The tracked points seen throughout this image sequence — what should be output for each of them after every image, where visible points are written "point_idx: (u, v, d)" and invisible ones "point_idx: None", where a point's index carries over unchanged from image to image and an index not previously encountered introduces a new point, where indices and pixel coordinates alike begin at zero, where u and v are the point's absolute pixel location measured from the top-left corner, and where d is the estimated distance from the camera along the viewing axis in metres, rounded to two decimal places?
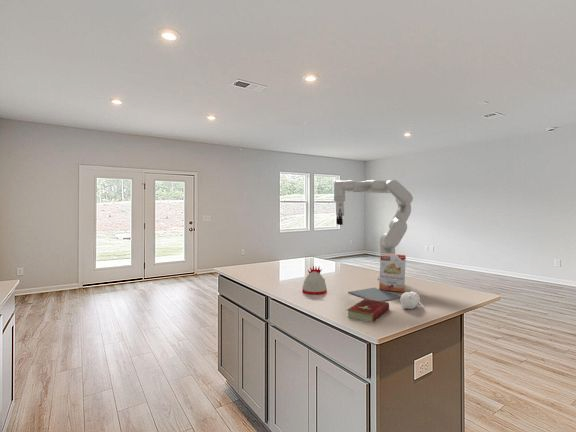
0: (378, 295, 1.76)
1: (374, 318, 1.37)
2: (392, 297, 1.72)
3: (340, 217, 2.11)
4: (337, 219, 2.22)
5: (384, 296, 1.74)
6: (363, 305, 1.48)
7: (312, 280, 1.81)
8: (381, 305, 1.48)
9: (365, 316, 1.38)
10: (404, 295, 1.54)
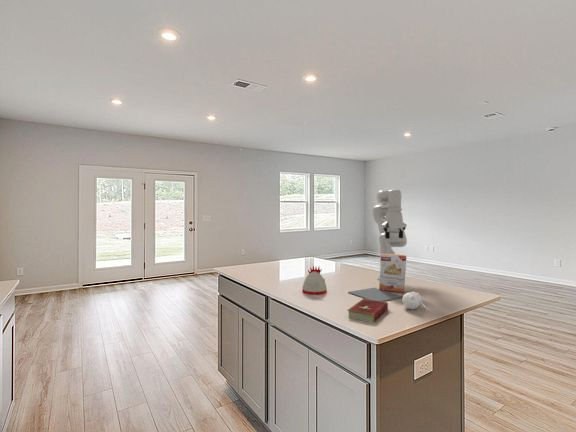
0: (378, 295, 1.76)
1: (375, 318, 1.37)
2: (392, 297, 1.72)
3: None
4: None
5: (384, 296, 1.74)
6: (363, 305, 1.48)
7: (312, 280, 1.81)
8: (380, 305, 1.49)
9: (366, 316, 1.38)
10: (406, 295, 1.53)
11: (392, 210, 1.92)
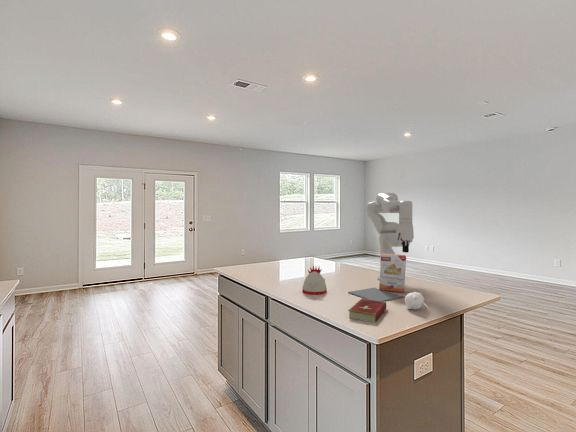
0: (378, 295, 1.76)
1: (376, 318, 1.37)
2: (392, 297, 1.72)
3: None
4: None
5: (384, 296, 1.74)
6: (362, 305, 1.48)
7: (312, 280, 1.81)
8: (380, 305, 1.49)
9: (367, 316, 1.38)
10: (409, 296, 1.53)
11: (405, 222, 1.88)
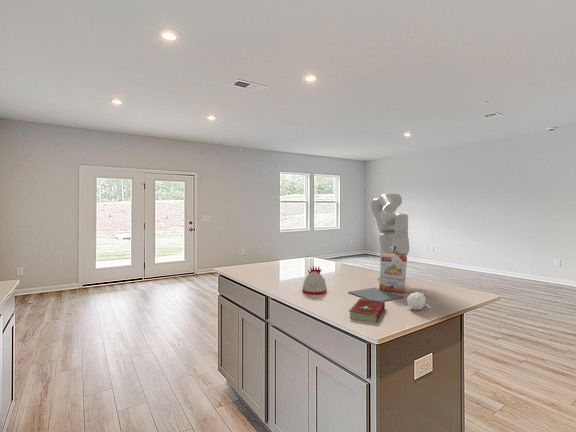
0: (378, 295, 1.76)
1: (377, 318, 1.38)
2: (392, 297, 1.72)
3: None
4: None
5: (384, 296, 1.74)
6: (362, 305, 1.48)
7: (312, 280, 1.81)
8: (379, 304, 1.50)
9: (368, 316, 1.38)
10: (412, 296, 1.52)
11: (400, 235, 1.87)
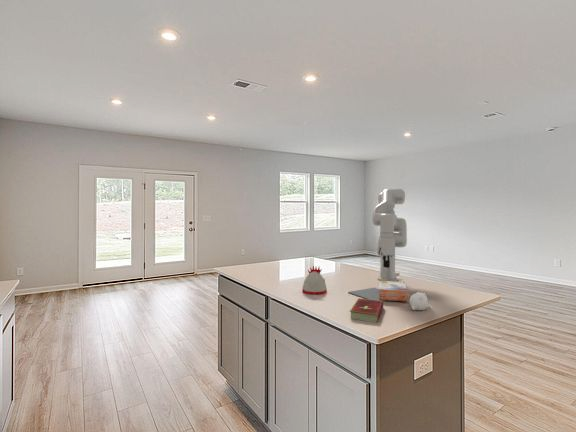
0: (378, 295, 1.76)
1: (378, 318, 1.38)
2: None
3: None
4: None
5: None
6: (362, 305, 1.48)
7: (312, 280, 1.81)
8: (378, 304, 1.50)
9: (369, 316, 1.38)
10: (414, 296, 1.52)
11: (385, 236, 1.81)
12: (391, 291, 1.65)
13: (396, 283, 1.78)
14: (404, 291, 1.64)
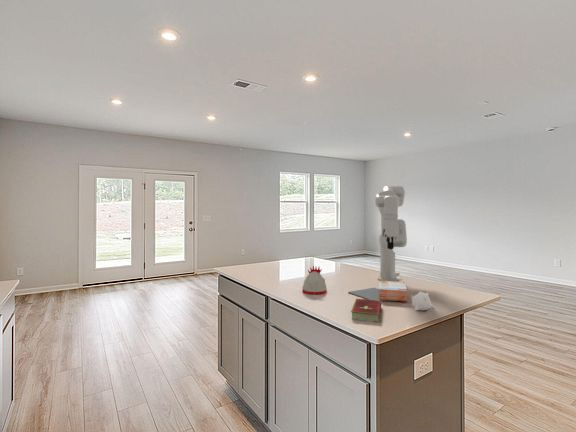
0: (378, 295, 1.76)
1: (379, 317, 1.38)
2: None
3: None
4: None
5: None
6: (361, 305, 1.48)
7: (312, 280, 1.81)
8: (377, 304, 1.50)
9: (371, 316, 1.38)
10: (418, 297, 1.51)
11: (389, 218, 1.82)
12: (391, 291, 1.65)
13: (396, 283, 1.78)
14: (404, 291, 1.64)
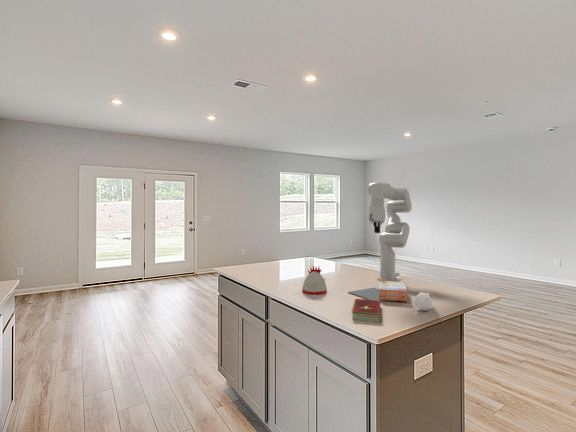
0: (378, 295, 1.76)
1: None
2: None
3: None
4: None
5: None
6: (361, 305, 1.48)
7: (312, 280, 1.81)
8: (377, 304, 1.51)
9: (371, 316, 1.38)
10: (420, 297, 1.51)
11: (376, 203, 1.93)
12: (391, 291, 1.65)
13: (396, 283, 1.78)
14: (404, 291, 1.64)
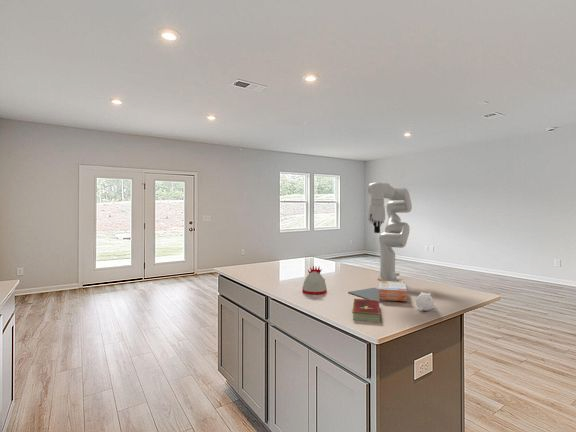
0: (378, 295, 1.76)
1: (380, 317, 1.38)
2: None
3: None
4: None
5: None
6: (361, 305, 1.48)
7: (312, 280, 1.81)
8: (376, 303, 1.51)
9: (372, 316, 1.38)
10: (421, 297, 1.50)
11: (376, 203, 1.93)
12: (391, 291, 1.65)
13: (396, 283, 1.78)
14: (404, 291, 1.64)
